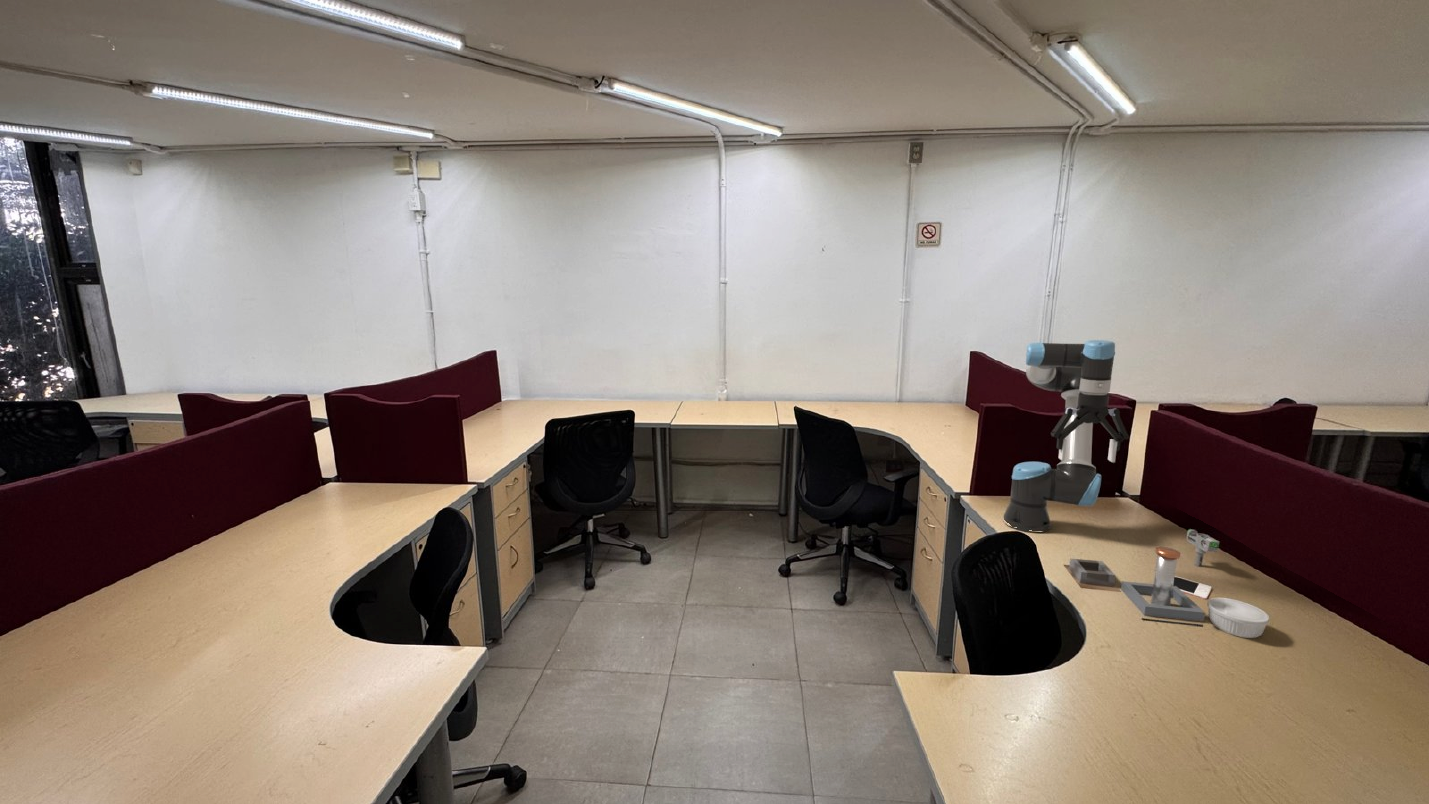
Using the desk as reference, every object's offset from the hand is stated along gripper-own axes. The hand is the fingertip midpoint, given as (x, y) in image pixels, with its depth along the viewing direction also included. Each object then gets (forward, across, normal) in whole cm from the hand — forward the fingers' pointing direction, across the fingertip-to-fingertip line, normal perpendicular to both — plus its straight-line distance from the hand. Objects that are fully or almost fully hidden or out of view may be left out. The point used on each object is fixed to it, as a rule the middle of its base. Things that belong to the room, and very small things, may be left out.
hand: (1086, 460), depth 166 cm
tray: (+33, +10, -27) cm, 44 cm away
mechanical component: (+34, +35, +2) cm, 49 cm away
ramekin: (+33, +24, -32) cm, 52 cm away
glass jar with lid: (+32, +10, -27) cm, 43 cm away
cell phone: (+34, +21, -10) cm, 41 cm away
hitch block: (+33, -1, -14) cm, 36 cm away
